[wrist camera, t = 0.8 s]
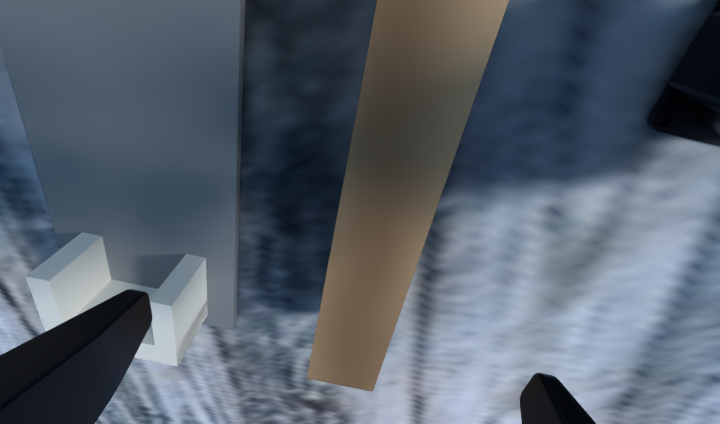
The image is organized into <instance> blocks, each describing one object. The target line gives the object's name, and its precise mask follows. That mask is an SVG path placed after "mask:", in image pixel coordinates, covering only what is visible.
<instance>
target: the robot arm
mask: <svg viewBox="0 0 720 424" xmlns="http://www.w3.org/2000/svg"><path fill="white" fill-rule="evenodd" d="M665 115H666V119H665V120H664V121H663V122H662V123H660V124H659V120H660V119H661V118H662V117H663V116H665ZM647 124H648V125H649V127H650V128H652V129H654V130H656V131H658V132H662V133H667V134H671V135H676V136H680V137H684V138H689V139H693V140H698V141H702V142H707V143H711V144H716V145H720V1H719V3H718V4H717V6H716V8H715V9H714V11H713V12H712V14H711V15H710V16H709V17H708V18H707V20H706V21H705V23H704V24H703V26H702V28H701V29H700V31H699V33H698V34H697V36H696V37H695V39H694V41H693V42H692V44H691V46H690V47H689V49H688V51H687V52H686V54H685V55H684V57H683V59H682V60H681V62H680V64H679V65H678V67H677V68H676V70H675V72H674V73H673V75H672V77H671V78H670V82H669V84H668V86H667V87H666V89H665V90H664V92H663V94H662V95H661V97H660V99H659V100H658V102H657V103H656V105H655V107H654V108H653V110H652V112H651V113H650V115H649V117H648V119H647ZM151 323H152V311H151V305H150V299H149V295H148V294H147V293H146V292H144V291H139V290H134V289H128V290H125V291H123V292H121V293H119V294H117V295H115V296H113V297H111V298H109V299H107V300H106V301H104V302H102V303H100V304H98V305H96V306H94V307H92V308H90V309H88V310H86V311H84V312H83V313H81V314H79V315H77V316H75V317H73V318H71V319H69V320H67V321H65V322H63V323H61V324H60V325H58V326H56V327H54V328H52V329H50V330H48V331H46V332H44V333H42V334H40V335H38V336H37V337H35V338H33V339H31V340H29V341H27V342H25V343H23V344H21V345H19V346H17V347H15V348H14V349H12V350H10V351H8V352H6V353H4V354H2V355H0V424H95V422H96V421H97V419H98V418H99V416H100V415H101V413H102V412H103V410H104V409H105V407H106V406H107V404H108V403H109V401H110V399H111V398H112V396H113V395H114V393H115V391H116V390H117V388H118V386H119V384H120V383H121V381H122V379H123V377H124V375H125V373H126V371H127V370H128V368H129V366H130V364H131V362H132V360H133V358H134V356H135V354H136V353H137V351H138V349H139V347H140V345H141V343H142V341H143V339H144V337H145V335H146V334H147V332H148V330H149V328H150V326H151ZM520 409H521V418H522V424H596V423H595V422H594V421H593V419H592V418H591V417H590V416H589V415H588V414H587V412H586V411H585V410H584V409H583V408H582V407H581V405H580V404H579V403H578V402H577V401H576V400H575V398H574V397H573V396H572V395H571V394H570V393H569V391H568V390H567V389H566V388H565V387H564V385H563V384H562V383H561V382H560V381H559V380H558V379H557V378H556V377H554V376H552V375H547V374H543V373H536V374H534V375H533V377H532V378H531V380H530V381H529V383H528V384H527V385H526V387H525V388H524V390H523V391H522V393H521V396H520Z"/></svg>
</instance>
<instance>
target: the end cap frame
mask: <svg viewBox="0 0 720 424" xmlns="http://www.w3.org/2000/svg"><path fill="white" fill-rule="evenodd" d="M244 34H245V0H0V45H1V48H2V52H3V55H4V59H5V62H6V65H7V69H8V72H9V76H10V79H11V83H12V86H13V90H14V93H15V96H16V100H17V103H18V107H19V110H20V114H21V117H22V121H23V124H24V128H25V131H26V134H27V138H28V141H29V145H30V148H31V152H32V155H33V159H34V162H35V165H36V169H37V172H38V176H39V179H40V183H41V186H42V190H43V193H44V197H45V200H46V203H47V207H48V210H49V214H50V217H51V221H52V224H53V228H54V231H55V234H56V238H57V241H58V245H59V248H60V250H59V251H57V252H56V253H55V254H53V255H52V256H51V257H49V258H48V259H47V260H46V261H44V262H43V263H42V264H40V265H39V266H38V267H37V268H35V269H34V270H33V271H31V272H30V273H29V274H28V275H26V276H25V277H26V280H27V282H28V285H29V288H30V290H31V293H32V296H33V299H34V301H35V304H36V307H37V309H38V312H39V315H40V317H41V320H42V323H43V326H44V328H45V331H48V330H50V329H52V328H54V327H56V326H58V325H60V324H61V323H63V322H65V321H67V320H69V319H71V318H73V317H75V316H77V315H79V314H81V313H83V312H84V311H86V310H88V309H90V308H92V307H94V306H96V305H98V304H100V303H102V302H104V301H106V300H107V299H109V298H111V297H113V296H115V295H117V294H119V293H121V292H123V291H125V290H128V289H134V290H139V291H144V292H146V293H147V294H148V295H149V299H150V305H151V311H152V323H151V326H150V328H149V330H148V332H147V334H146V335H145V337H144V339H143V341H142V343H141V345H140V347H139V349H138V351H137V353H136V354H135V356H134V358H139V359H144V360H149V361H154V362H159V363H163V364H168V365H173V366H178V365H179V363H180V361H181V360H182V358H183V356H184V355H185V353H186V351H187V349H188V348H189V346H190V344H191V343H192V341H193V339H194V337H195V336H196V334H197V332H198V331H199V329H200V327H201V325H202V324H206V325H211V326H215V327H220V328H225V329H230V330H233V329H234V327H235V325H236V312H237V277H238V242H239V208H240V173H241V138H242V103H243V68H244Z"/></svg>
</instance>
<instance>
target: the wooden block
mask: <svg viewBox="0 0 720 424" xmlns="http://www.w3.org/2000/svg"><path fill="white" fill-rule="evenodd" d="M508 2H509V0H377V4H376V10H375V15H374V20H373V26H372V31H371V36H370V42H369V47H368V53H367V58H366V63H365V69H364V74H363V80H362V85H361V90H360V96H359V101H358V106H357V112H356V117H355V123H354V128H353V133H352V139H351V144H350V149H349V155H348V160H347V166H346V171H345V176H344V182H343V187H342V193H341V198H340V203H339V209H338V214H337V219H336V225H335V230H334V236H333V241H332V246H331V252H330V257H329V262H328V268H327V273H326V279H325V284H324V289H323V295H322V300H321V305H320V311H319V316H318V322H317V327H316V332H315V338H314V343H313V349H312V354H311V359H310V365H309V370H308V375H307V379H311V380H317V381H322V382H327V383H332V384H337V385H342V386H347V387H352V388H357V389H362V390H367V391H372V392H373V389H374V386H375V384H376V381H377V378H378V375H379V372H380V369H381V366H382V363H383V361H384V358H385V355H386V352H387V349H388V346H389V343H390V341H391V338H392V335H393V332H394V329H395V326H396V323H397V320H398V318H399V315H400V312H401V309H402V306H403V303H404V300H405V297H406V295H407V292H408V289H409V286H410V283H411V280H412V277H413V275H414V272H415V269H416V266H417V263H418V260H419V257H420V254H421V252H422V249H423V246H424V243H425V240H426V237H427V234H428V232H429V229H430V226H431V223H432V220H433V217H434V214H435V211H436V209H437V206H438V203H439V200H440V197H441V194H442V191H443V188H444V186H445V183H446V180H447V177H448V174H449V171H450V168H451V166H452V163H453V160H454V157H455V154H456V151H457V148H458V145H459V143H460V140H461V137H462V134H463V131H464V128H465V125H466V122H467V120H468V117H469V114H470V111H471V108H472V105H473V102H474V100H475V97H476V94H477V91H478V88H479V85H480V82H481V79H482V77H483V74H484V71H485V68H486V65H487V62H488V59H489V57H490V54H491V51H492V48H493V45H494V42H495V39H496V36H497V34H498V31H499V28H500V25H501V22H502V19H503V16H504V13H505V11H506V8H507V5H508Z"/></svg>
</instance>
